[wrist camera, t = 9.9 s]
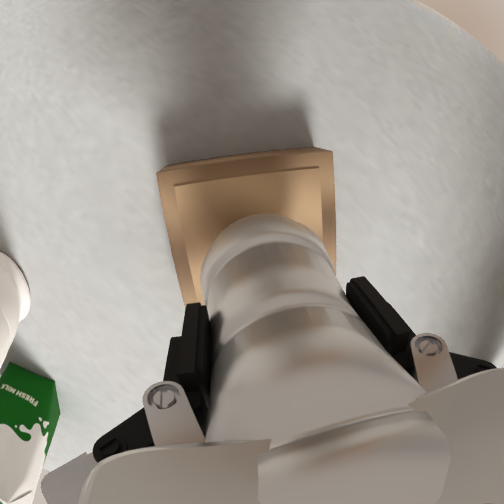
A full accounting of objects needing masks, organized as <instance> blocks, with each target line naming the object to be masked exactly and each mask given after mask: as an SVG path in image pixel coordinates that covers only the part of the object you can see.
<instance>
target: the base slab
mask: <svg viewBox="0 0 504 504" xmlns="http://www.w3.org/2000/svg"><path fill="white" fill-rule="evenodd" d="M156 175H157V181H158V186H159V192H160V197H161V202H162V208H163V213H164V218H165V222H166V227H167V232H168V237H169V241H170V246H171V251H172V255H173V259H174V264H175V268H176V272H177V276H178V281H179V285H180V289H181V293H182V297H183V301H184V305H185V308H186V304H189V303H197V302H200V303H201V306H202V305H204V301H203V296H202V290H201V285H200V272H201V268H202V264H203V260H204V258H205V256H206V254H207V252H208V250H209V248H210V247H211V245H212V243H213V241H214V240H215V239H216V237H217V236H218V235H219V234H220V233H221V232H222V231H223V230H224V229H225V228H226V227H228V226H229V225H230V224H232V223H234V222H236V221H237V220H239V219H241V218H244V217H247V216H250V215H255V214H263V213H267V214H278V215H282V216H286V217H288V218H291V219H293V220H295V221H297V222H299V223H301V224H303V225H305V226H307V227H308V228H309V229H310V230H312V231H313V232H314V233H315V234H316V235H317V236H318V238H319V239H320V240H321V241H322V243H323V245H324V247H325V249H326V251H327V253H328V256H329V258H330V260H331V262H332V264H333V268H334V272H335V276H336V214H335V187H334V167H333V151H329V150H325V149H321V148H316V147H308V148H296V149H284V150H274V151H264V152H255V153H247V154H239V155H231V156H224V157H217V158H210V159H204V160H197V161H191V162H185V163H179V164H174V165H168V166H166V167H164V168H163V169H162V170H160V171H159V172H157V173H156Z"/></svg>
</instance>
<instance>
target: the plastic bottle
mask: <svg viewBox="0 0 504 504" xmlns="http://www.w3.org/2000/svg"><path fill="white" fill-rule="evenodd" d="M200 285H201V290H202V296H203V301H204V305H206V307H207V311H208V315H209V320H210V332H211V343H212V351H213V354H212V371H211V382H210V398H209V410H208V415H207V421H206V426H205V432H204V437H205V442H215V441H224V440H264V439H271V443H270V447H269V452H267V453H264V454H261V455H258V456H257V460H258V479H259V481H258V501H259V502H260V503H261V504H435V503H436V502H437V500H438V499H439V498H440V496H441V495H442V491H443V488H444V484H445V480H446V476H447V472H448V468H449V464H450V460H451V442H450V440H449V439H448V438H447V437H446V436H445V435H444V433H443V432H442V431H441V430H440V429H439V427H438V426H437V425H436V423H435V422H434V421H433V419H432V418H431V417H430V415H429V414H428V413H427V411H422V412H416V411H415V410H414V409H413V408H411V407H410V406H409V405H408V404H409V403H411V402H413V401H415V400H416V399H417V398H418V397H419V396H421V395H422V394H423V393H426V391H425V390H424V389H423V388H422V387H421V386H420V385H419V384H418V383H417V382H416V380H415V379H414V378H413V377H412V376H411V375H410V374H409V373H408V372H407V371H406V370H405V369H404V368H403V367H402V366H401V365H400V364H399V363H398V362H397V361H396V360H395V359H394V358H393V357H392V356H391V355H390V354H389V353H388V352H387V351H386V350H385V349H384V347H383V346H382V345H381V343H380V342H379V341H378V340H377V338H376V337H375V336H374V334H373V333H372V332H371V331H370V329H369V328H368V327H367V326H366V324H365V323H364V322H363V321H362V319H361V318H360V317H359V316H358V314H357V313H356V312H355V311H354V309H353V308H352V306H351V304H350V302H349V300H348V299H347V297H346V295H345V293H344V291H343V289H342V287H341V285H340V283H339V282H338V280H337V278H336V276H335V272H334V268H333V264H332V262H331V260H330V258H329V256H328V253H327V251H326V249H325V247H324V245H323V243H322V241H321V240H320V239H319V238H318V236H317V235H316V234H315V233H314V232H313V231H312V230H310V229H309V228H308V227H307V226H305V225H303V224H301V223H299V222H297V221H295V220H293V219H291V218H288V217H286V216H282V215H278V214H267V213H263V214H255V215H250V216H247V217H244V218H241V219H239V220H237V221H236V222H234V223H232V224H230V225H229V226H228V227H226V228H225V229H224V230H223V231H222V232H221V233H220V234H219V235H218V236H217V237H216V239H215V240H214V241H213V243H212V245H211V247H210V248H209V250H208V252H207V254H206V256H205V258H204V260H203V264H202V268H201V272H200Z"/></svg>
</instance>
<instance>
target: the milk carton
mask: <svg viewBox="0 0 504 504" xmlns="http://www.w3.org/2000/svg"><path fill="white" fill-rule="evenodd" d="M59 416H60V409H59V404H58V398H57V393H56V387H55V382H54V381H52V380H49V379H47V378H44V377H42V376H40V375H37V374H35V373H33V372H30V371H28V370H26V369H24V368H21V367H19V366H17V365H15V364H13V363H11V362H10V363H9V364H8V366H7V368H6V369H5V371H4V373H3V374H2V376H1V378H0V504H32V502H33V498H34V494H35V489H36V487H37V484H38V480H39V477H40V474H41V471H42V467H43V464H44V461H45V458H46V455H47V452H48V449H49V446H50V444H51V441H52V438H53V435H54V432H55V428H56V425H57V422H58V419H59Z"/></svg>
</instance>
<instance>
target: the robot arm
mask: <svg viewBox="0 0 504 504" xmlns="http://www.w3.org/2000/svg"><path fill="white" fill-rule="evenodd" d="M346 297H347V299H348V300H349V302H350V304H351V306H352V308H353V309H354V311H355V312H356V313H357V314H358V316H359V317H360V318H361V319H362V321H363V322H364V323H365V324H366V326H367V327H368V328H369V329H370V331H371V332H372V333H373V334H374V336H375V337H376V338H377V340H378V341H379V342H380V343H381V345H382V346H383V347H384V349H385V350H386V351H387V352H388V353H389V354H390V355H391V356H392V357H393V358H394V359H395V360H396V361H397V362H398V363H399V364H400V365H401V366H402V367H403V368H404V369H405V370H406V371H407V372H408V373H409V374H410V375H411V376H412V377H413V378H414V379H415V380H416V382H417V383H418V384H419V385H420V386H421V387H422V388H423V389H424V390H425V391H426V393H423V394H422V395H421V396H419V397H418V398H417V399H416V400H415V401H413V402H411V403H409V404H408V405H409V406H410V407H411V408H413V409H414V410H415V411H416V412H422V411H427V413H428V414H429V415H430V417H431V418H432V419H433V421H434V422H435V423H436V425H437V426H438V427H439V429H440V430H441V431H442V432H443V433H444V435H445V436H446V437H447V438H448V439H449V440H450V442H451V460H450V464H449V468H448V472H447V476H446V480H445V484H444V488H443V491H442V495H441V496H440V498H439V499H438V500H437V502H436V503H435V504H504V368H496V367H495V366H494V365H493V364H492V363H490V362H487V361H484V360H480V359H476V358H472V357H467V356H463V355H459V354H455V353H451V352H449V351H448V348H447V345H446V343H445V341H444V340H443V339H442V338H441V337H439V336H437V335H435V334H431V333H423V334H419V335H415V333H414V332H413V331H412V330H411V329H410V327H409V326H408V325H407V324H406V323H405V321H404V320H403V319H402V318H401V317H400V315H399V314H398V313H397V312H396V311H395V309H394V308H393V307H392V306H391V305H390V304H389V303H388V302H386V301H385V299H384V298H383V297H382V296H381V295H380V294H379V292H378V291H377V290H376V289H375V288H374V287H373V286H372V284H371V283H370V282H369V281H368V280H367V279H366V278H365V277H364V276H363V277H357V278H352V279H351V280H350V282H349V283H347V285H346ZM212 354H213V351H212V343H211V332H210V320H209V315H208V311H207V307H206V305H202V306H201V303H200V302H197V303H189V304H186V310H185V316H184V323H183V330H182V336H180V337H172V338H171V340H170V345H169V350H168V356H167V362H166V367H165V373H164V380H163V381H162V382H158V383H156V384H153V385H152V386H150V387H149V388H148V389H147V390H146V391H145V393H144V395H143V405H144V408H142V409H141V410H140V411H138V412H137V413H135V414H134V415H132V416H131V417H130V418H128V419H127V420H125V421H124V422H122V423H121V424H119V425H118V426H117V427H115V428H114V429H112V430H111V431H109V432H108V433H106V434H105V435H103V436H102V437H101V438H99V439H98V440H97V441H96V443H95V445H94V447H93V452H92V453H90V454H87V453H86V452H85V453H83V454H82V455H80V456H78V457H77V458H75V459H73V460H71V461H70V462H68V463H66V464H64V465H63V466H61V467H59V468H57V469H55V470H54V471H52V472H50V473H48V474H47V475H46V476H45V477H44V478H43V480H42V482H41V489H42V493H43V495H44V497H45V499H46V501H47V503H48V504H261V503H260V502H259V501H258V481H259V479H258V460H257V456H258V455H261V454H264V453H267V452H269V447H270V443H271V439H264V440H224V441H215V442H205V437H204V432H205V426H206V421H207V415H208V410H209V398H210V382H211V371H212Z"/></svg>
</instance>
